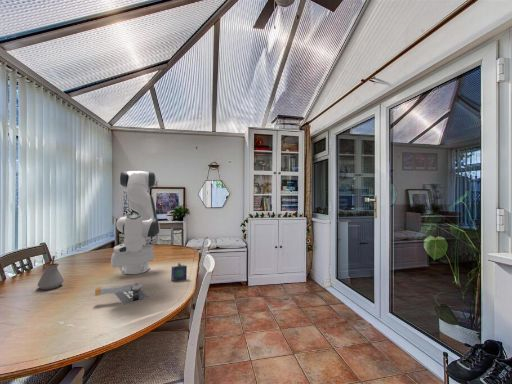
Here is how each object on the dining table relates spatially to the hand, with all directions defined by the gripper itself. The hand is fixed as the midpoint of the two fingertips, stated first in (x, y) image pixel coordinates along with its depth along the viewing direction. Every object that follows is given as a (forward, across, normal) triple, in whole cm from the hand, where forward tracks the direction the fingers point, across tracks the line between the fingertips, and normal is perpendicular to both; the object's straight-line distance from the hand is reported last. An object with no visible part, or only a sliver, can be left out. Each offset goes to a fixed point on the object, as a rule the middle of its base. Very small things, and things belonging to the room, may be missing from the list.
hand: (132, 272), depth 126 cm
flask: (+13, -30, -8) cm, 34 cm away
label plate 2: (+12, 0, 0) cm, 12 cm away
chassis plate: (+13, 0, -2) cm, 13 cm away
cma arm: (+8, +7, +2) cm, 11 cm away
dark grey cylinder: (+12, 0, +6) cm, 13 cm away
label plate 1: (+12, 0, -6) cm, 14 cm away
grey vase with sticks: (+13, +29, -52) cm, 61 cm away
